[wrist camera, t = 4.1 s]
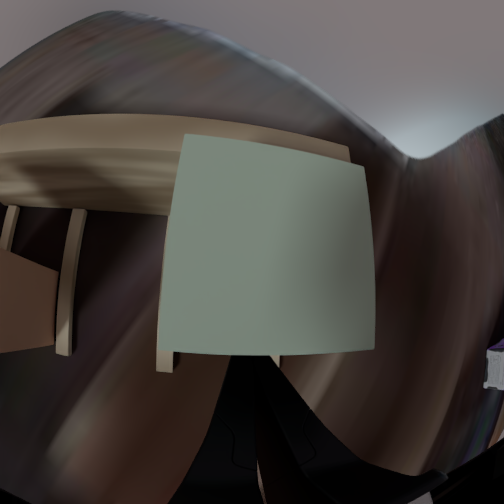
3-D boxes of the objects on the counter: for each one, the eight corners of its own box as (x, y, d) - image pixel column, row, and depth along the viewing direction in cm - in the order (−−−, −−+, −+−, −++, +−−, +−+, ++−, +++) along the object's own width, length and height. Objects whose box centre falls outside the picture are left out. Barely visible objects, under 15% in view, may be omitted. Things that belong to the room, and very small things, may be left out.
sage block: (258, 330, 17) (374, 349, 6) (180, 326, 16) (157, 350, 5) (261, 255, 19) (363, 166, 7) (186, 248, 18) (184, 133, 6)
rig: (291, 372, 17) (355, 403, 10) (-13, 329, 13) (-80, 326, 5) (294, 204, 20) (348, 146, 13) (11, 183, 15) (-37, 134, 8)
